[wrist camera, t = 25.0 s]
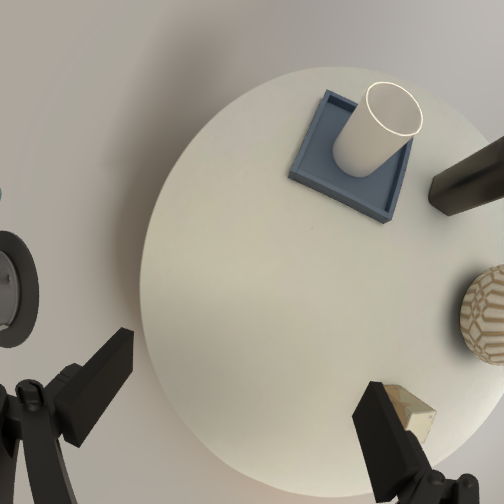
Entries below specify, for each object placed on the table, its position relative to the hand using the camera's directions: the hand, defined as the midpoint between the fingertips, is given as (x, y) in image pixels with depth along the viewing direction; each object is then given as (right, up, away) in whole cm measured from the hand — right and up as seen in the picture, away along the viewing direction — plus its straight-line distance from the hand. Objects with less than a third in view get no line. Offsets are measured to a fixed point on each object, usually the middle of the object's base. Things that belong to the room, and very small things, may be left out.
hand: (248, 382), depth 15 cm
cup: (+15, +21, +27) cm, 37 cm away
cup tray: (+15, +21, +27) cm, 38 cm away
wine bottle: (+32, +16, +27) cm, 45 cm away
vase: (+39, -4, +26) cm, 47 cm away
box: (+21, -16, +24) cm, 36 cm away
